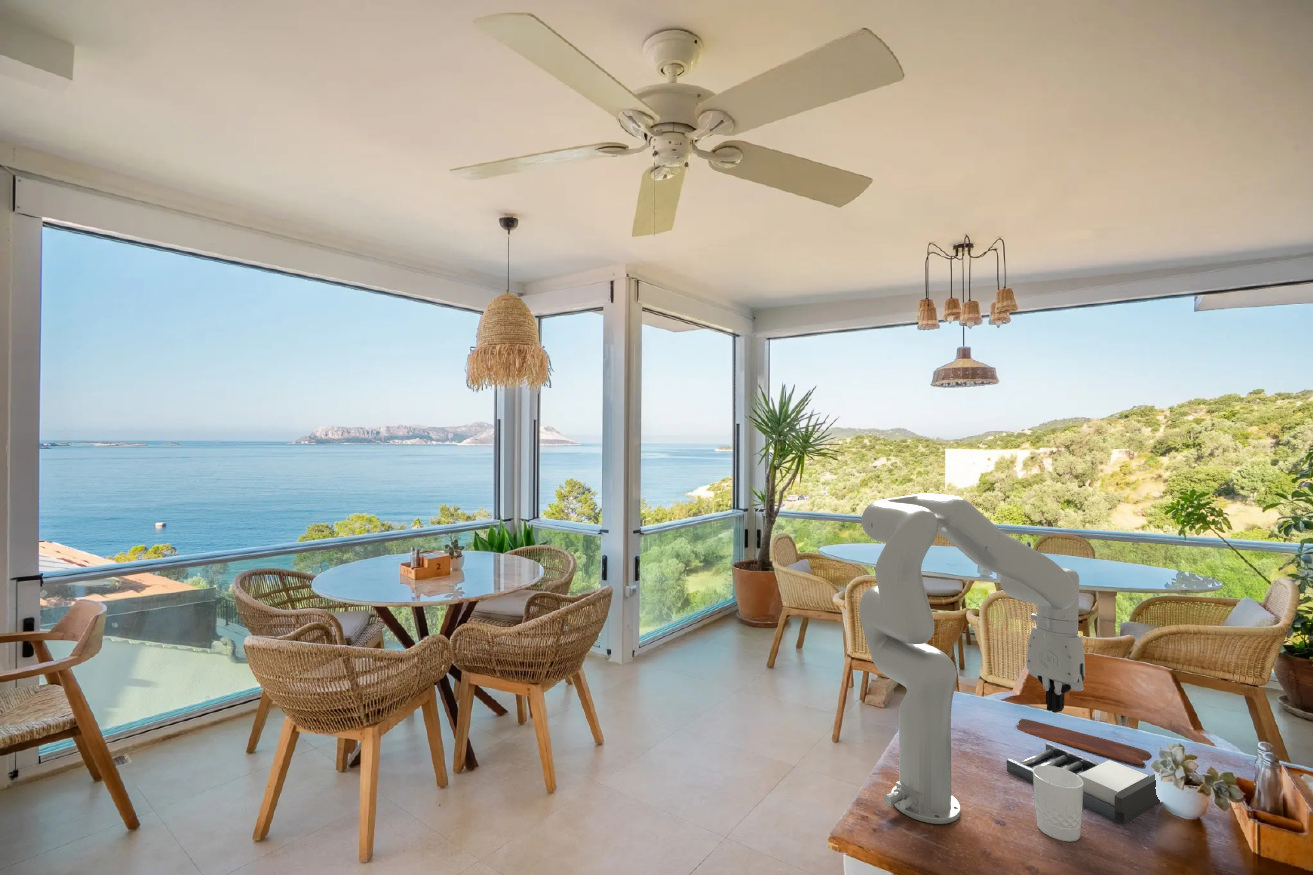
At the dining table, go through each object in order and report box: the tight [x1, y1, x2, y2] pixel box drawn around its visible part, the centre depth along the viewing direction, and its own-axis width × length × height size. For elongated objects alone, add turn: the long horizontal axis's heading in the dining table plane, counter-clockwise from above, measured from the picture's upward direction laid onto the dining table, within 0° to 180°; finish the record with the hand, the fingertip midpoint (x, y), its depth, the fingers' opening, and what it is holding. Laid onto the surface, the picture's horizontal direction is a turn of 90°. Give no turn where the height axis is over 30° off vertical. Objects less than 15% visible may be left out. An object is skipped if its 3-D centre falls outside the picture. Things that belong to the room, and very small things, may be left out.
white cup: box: [1032, 765, 1084, 842], centre depth 113 cm, size 8×8×10 cm
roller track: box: [1006, 742, 1161, 826], centre depth 128 cm, size 16×22×5 cm
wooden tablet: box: [1016, 718, 1152, 769], centre depth 147 cm, size 27×10×2 cm, turn 44°
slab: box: [1078, 759, 1150, 806], centre depth 123 cm, size 12×7×3 cm, turn 119°
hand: (1054, 710), depth 132 cm, fingers closed
